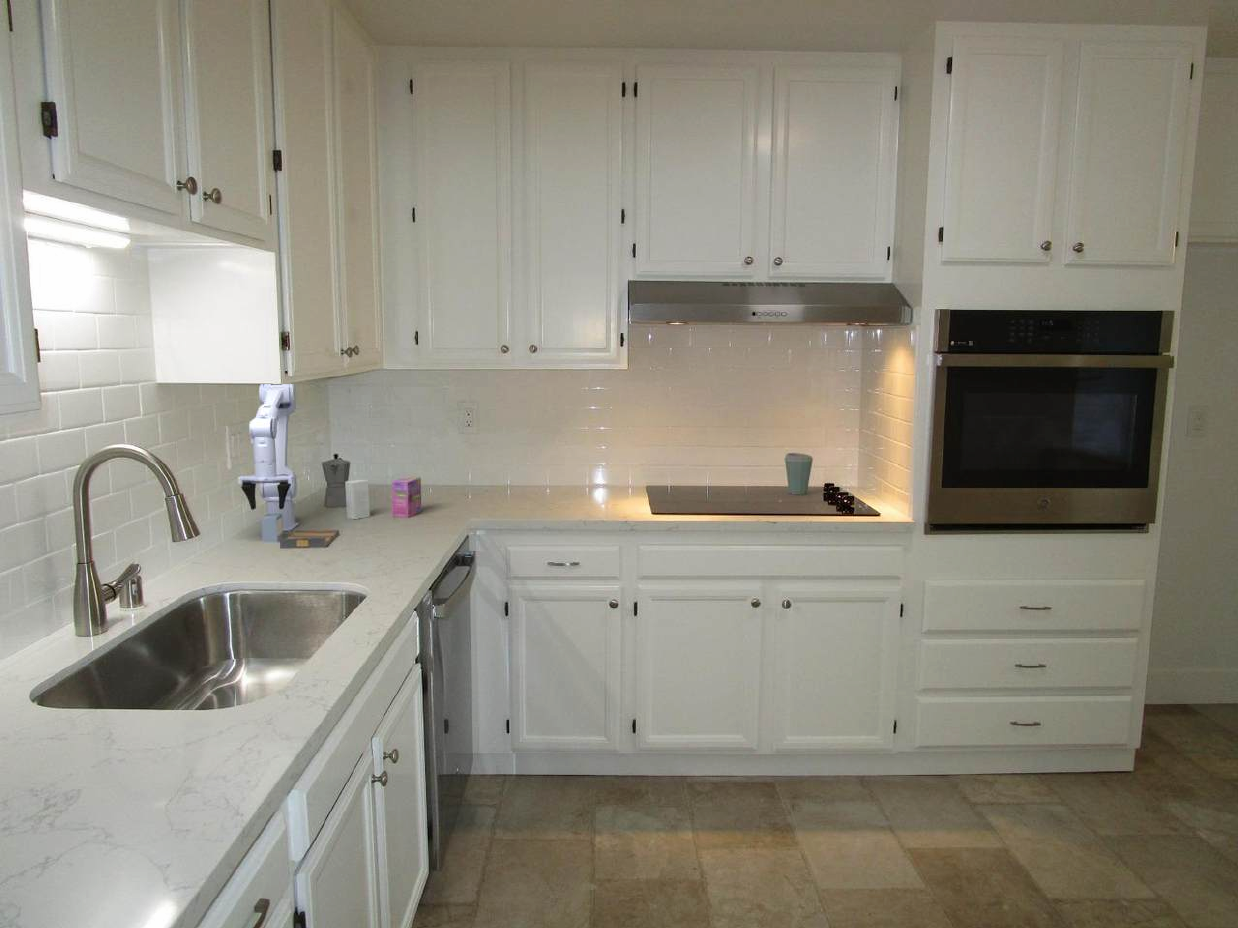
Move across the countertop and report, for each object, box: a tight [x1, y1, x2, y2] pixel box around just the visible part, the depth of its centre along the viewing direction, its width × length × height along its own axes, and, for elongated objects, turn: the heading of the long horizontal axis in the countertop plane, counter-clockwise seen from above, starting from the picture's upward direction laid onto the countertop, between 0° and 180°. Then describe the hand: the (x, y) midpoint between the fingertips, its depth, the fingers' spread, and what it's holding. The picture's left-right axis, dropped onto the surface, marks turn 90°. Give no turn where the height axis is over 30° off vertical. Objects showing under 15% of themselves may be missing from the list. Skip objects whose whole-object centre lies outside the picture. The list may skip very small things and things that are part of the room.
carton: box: [260, 513, 284, 543], centre depth 244 cm, size 4×6×7 cm
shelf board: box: [286, 529, 340, 547], centre depth 244 cm, size 16×12×1 cm
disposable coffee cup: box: [784, 452, 814, 495], centre depth 324 cm, size 11×11×15 cm
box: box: [391, 476, 422, 519], centre depth 281 cm, size 10×6×12 cm, turn 168°
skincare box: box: [345, 479, 371, 520], centre depth 275 cm, size 6×4×12 cm
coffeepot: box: [321, 453, 351, 509], centre depth 296 cm, size 15×9×18 cm, turn 8°
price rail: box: [279, 538, 327, 549], centre depth 235 cm, size 1×12×2 cm, turn 96°
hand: (267, 508), depth 241 cm, fingers open, 7 cm apart
